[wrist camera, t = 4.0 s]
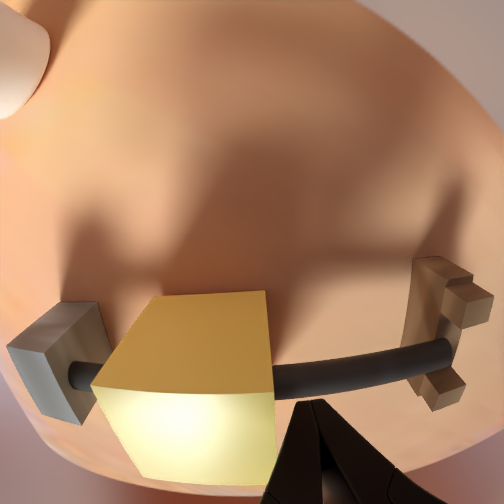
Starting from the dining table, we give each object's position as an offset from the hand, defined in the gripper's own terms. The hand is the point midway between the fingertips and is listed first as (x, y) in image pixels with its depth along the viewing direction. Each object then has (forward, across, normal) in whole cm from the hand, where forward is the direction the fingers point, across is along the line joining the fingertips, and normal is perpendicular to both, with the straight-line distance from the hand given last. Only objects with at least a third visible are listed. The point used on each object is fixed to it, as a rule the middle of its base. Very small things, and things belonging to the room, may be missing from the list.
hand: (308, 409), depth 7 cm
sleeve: (+4, +3, 0) cm, 5 cm away
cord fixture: (+5, +2, 0) cm, 5 cm away
